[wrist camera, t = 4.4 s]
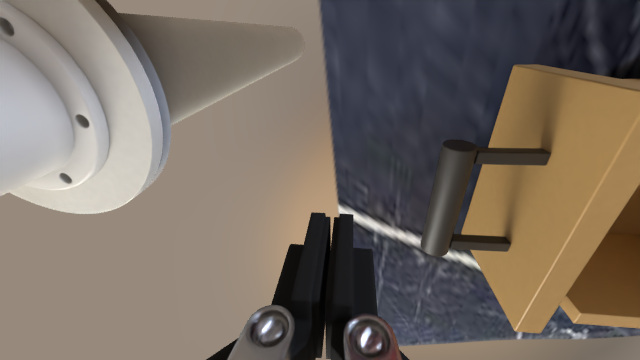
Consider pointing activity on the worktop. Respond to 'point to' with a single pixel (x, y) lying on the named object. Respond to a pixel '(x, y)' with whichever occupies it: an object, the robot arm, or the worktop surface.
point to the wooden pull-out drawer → (551, 199)
